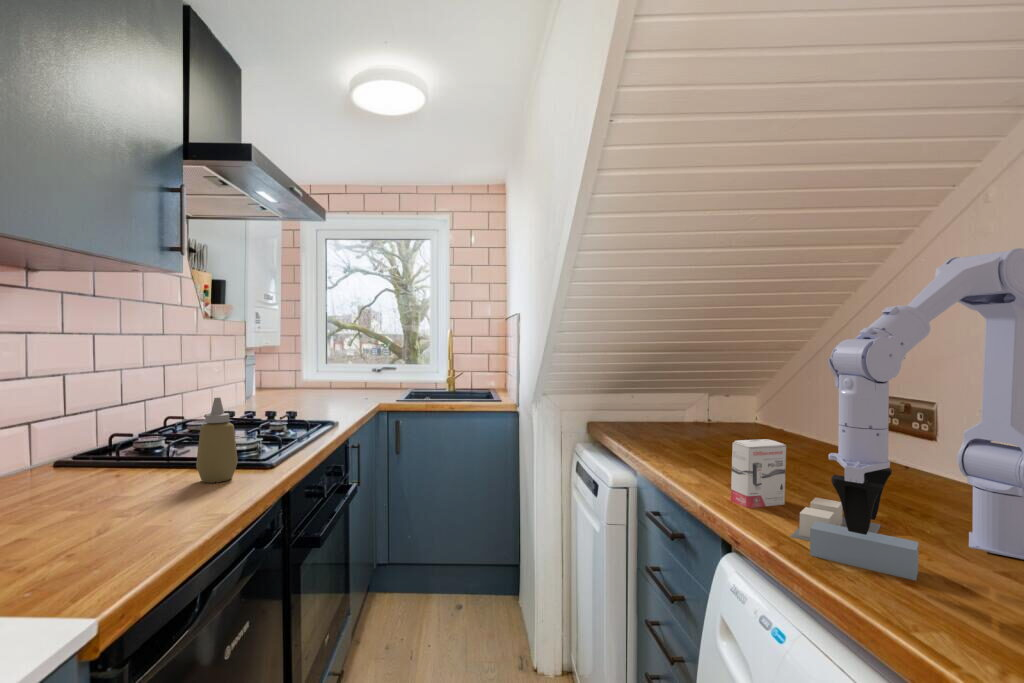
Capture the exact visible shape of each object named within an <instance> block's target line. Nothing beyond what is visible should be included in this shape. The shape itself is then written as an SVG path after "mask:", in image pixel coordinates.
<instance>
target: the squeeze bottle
mask: <svg viewBox="0 0 1024 683" xmlns="http://www.w3.org/2000/svg"><path fill="white" fill-rule="evenodd" d="M204 418H205V419H204V420H205V421H204V422H205V423H204V424H203V425H201V426H200V428H199V437H198V446H197V447H198V448H197V454H196V464H195V467H196V469H197V473H198V474H199V477H200V480H201V482H203V483H208V484H209V483H211V484H213V483H215V482H216V483H223V482H227V481H230V480H231V479H233V476H234V474H235V472H236V469H237V465H238V463H239V462H238V461H239V460H238V451H237V442H236V433H235V425H234V424H233V423H231V422H230V413H229V412H226V413H225V411H224V407H223V402H222V398H221V397H214V398H213V402H212V407H211V411H210V413H209V414H205V417H204ZM222 481H223V482H222Z"/></svg>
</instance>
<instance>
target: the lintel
mask: <svg viewBox="0 0 1024 683" xmlns="http://www.w3.org/2000/svg"><path fill="white" fill-rule="evenodd" d="M809 556H811V557H815V558H818V559H819V558H820V559H823V560H826V561H827V560H828V561H831V562H835V563H840V564H845V565H849V566H853V567H857V568H860V569H865V570H870V571H875V572H878V573H883V574H886V575H891V576H894V577H899V578H902V579H903V578H904V579H907V580H912V581H916V582H917V578H918V574H919V541H918V540H917V541H916V540H912V539H906V538H901V537H897V536H891V535H886V534H881V533H872V532H867V534H866V535H864V534H859V533H855V532H850V531H848V529H847V527H842V526H837V525H832V524H827V523H822V522H817V521H816V522H815V523H814V524H813V525H812V527H811V528H810V541H809Z"/></svg>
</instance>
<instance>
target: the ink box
mask: <svg viewBox="0 0 1024 683" xmlns="http://www.w3.org/2000/svg"><path fill="white" fill-rule="evenodd" d="M731 452H732V455H731V480H730V481H731V482H730V483H731V484H730V485H731V486H730V488H731V489H730V502H732V503H734V504H737V505H739V506H742V507H744V508H747V509H751V508H752V509H753V508H754V509H755V508H763V507H773V506H774V507H775V506H782V505H785V504H786V503H785V499H786V498H785V497H786V496H785V495H786V469H787V468H786V466H787V465H786V464H787V463H786V462H787V444H784V443H782V442H779V441H778V440H774V439H768V438H765V439H763V438H762V439H743V440H742V439H741V440H734V442H732V451H731Z"/></svg>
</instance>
